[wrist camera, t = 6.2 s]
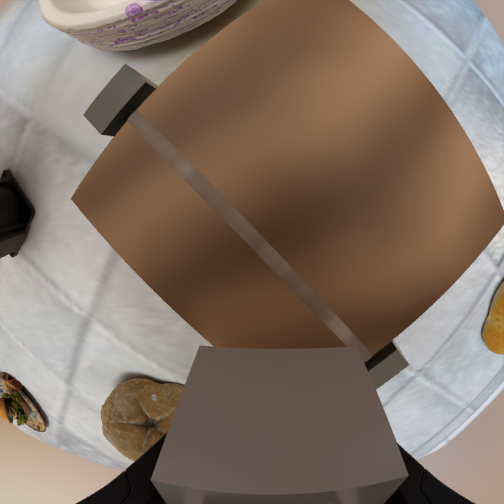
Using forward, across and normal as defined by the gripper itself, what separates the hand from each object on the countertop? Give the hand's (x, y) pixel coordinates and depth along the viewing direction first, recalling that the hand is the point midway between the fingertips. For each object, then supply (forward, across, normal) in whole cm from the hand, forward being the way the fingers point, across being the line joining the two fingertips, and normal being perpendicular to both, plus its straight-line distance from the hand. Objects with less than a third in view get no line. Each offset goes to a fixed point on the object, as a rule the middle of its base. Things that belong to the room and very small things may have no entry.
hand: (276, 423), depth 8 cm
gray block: (+1, 0, 0) cm, 1 cm away
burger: (+13, +39, +23) cm, 47 cm away
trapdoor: (+10, -1, -7) cm, 12 cm away
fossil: (+13, +10, +13) cm, 21 cm away
